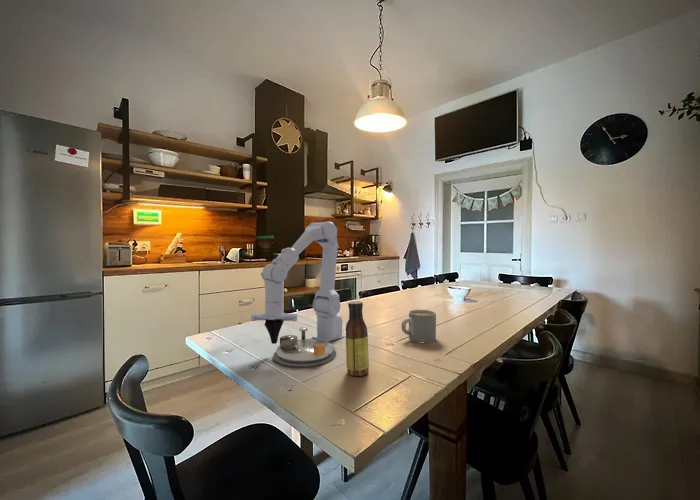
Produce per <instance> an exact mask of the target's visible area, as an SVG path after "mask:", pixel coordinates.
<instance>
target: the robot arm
mask: <svg viewBox="0 0 700 500" xmlns="http://www.w3.org/2000/svg"><path fill="white" fill-rule="evenodd" d="M314 241H315V242H316V243H318V244H319V245H320V247H322V258H321V269H320V270H321V271H320V272H321V273H320V274H321V275H320V285H319V289H318V290H317V291H316V292H315V294H314V299H313V302H312V309H313V310H314V312H315V315H316V335H312V338H311V339H318V340H323V341H327V342H331V341H335V340H338V339H343V338H344V337H345V336H344V334H343V318H342V316H341V315H340V309H341V302H340V294H338V292H337V291H336V289H335V285H336V284H335V283H336V273H337V272H336V271H337V257H338V245H339V243H338V228H337V226H336V225H335V224H334V222H333V221H330V220H329V221H323V222H311V223H309V225H308V226H306V227H305V230H304V232H303V233H302V234H301V235H300V237H299V238H298V239H297V240H296V241H295V242H294V244H293V245H292V246H291V247H286V248H282V249H281V251H280V253H279V255H278V256H276V258H274V259H272V261H271V263H268V264H266V265H265V266H264V267H263V269H262V272H261V273H260V276H261V278H262V279H263V283H264V309H265V312H263V313H262V312H261V313H252V314H251V316H250V317H251V318H250V319H251V320H250V321H251V322H255V321H263V322H264V327H265V328H266V330H267V332H268V335H269V338H270V342H271V344H272V345H273V344H277V343H278V341H279V335H280V331H281V329H282V326H283V324H284V322H285V321H287V322H290V321H291V322H297V321H298V314H297V313H289V312H288V313H286V312H284V281H285V280H286V279H287V277H288V272H289V271H290V269H291V268H292V267H293V266H294V265H295V264H296V263H297V261H298V260H299V259H300V257H299V255H300V254H301V253H302V252H303V251H304V250H305V249H306V248H307V247H308V246H309V245H310V244H311V243H312V242H314Z"/></svg>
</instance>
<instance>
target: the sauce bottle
mask: <svg viewBox="0 0 700 500" xmlns="http://www.w3.org/2000/svg"><path fill="white" fill-rule="evenodd" d="M347 304H348V305H347V307H348V318H349V319H348V321H347V322H346V324H345V355H346V356H345V358H346V359H345V361H346V369H347V374H348V375H351V376H354V377H362V376H366V375H367V374H368V373H369V368H370V367H369V366H370V361H369V360H370V359H369V337H368V334H369V333H368V326H367V325H366V323H365V321H364V315H363V307H364V305H363V302H362V301H360V300H353V301H352V300H351V301H349V302H348V303H347Z"/></svg>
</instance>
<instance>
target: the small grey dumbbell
mask: <svg viewBox="0 0 700 500" xmlns="http://www.w3.org/2000/svg"><path fill="white" fill-rule="evenodd" d="M298 330H299V331H300V332H301V333H300V335H301V338H300V339H306V332H307V331H308V327H305V326H302V327H299V329H298Z"/></svg>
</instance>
